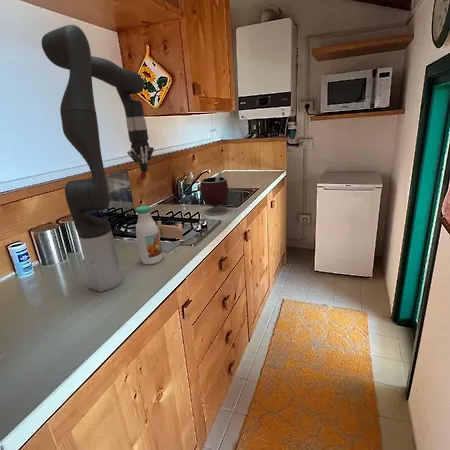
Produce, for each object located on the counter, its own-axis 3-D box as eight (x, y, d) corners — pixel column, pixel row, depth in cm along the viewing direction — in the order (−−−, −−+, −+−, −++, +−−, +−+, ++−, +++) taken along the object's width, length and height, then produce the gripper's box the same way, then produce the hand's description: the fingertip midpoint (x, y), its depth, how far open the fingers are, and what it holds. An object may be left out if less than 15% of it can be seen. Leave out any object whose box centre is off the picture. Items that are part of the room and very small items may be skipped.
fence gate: (162, 236, 127) (160, 222, 125) (164, 235, 129) (162, 221, 127) (182, 239, 123) (180, 225, 121) (184, 238, 124) (182, 223, 122)
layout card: (167, 252, 114) (167, 251, 113) (137, 246, 122) (137, 245, 122) (201, 232, 131) (201, 231, 131) (173, 227, 139) (173, 226, 139)
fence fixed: (143, 247, 120) (140, 230, 117) (140, 246, 120) (137, 230, 118) (164, 236, 129) (161, 220, 127) (161, 235, 130) (159, 220, 127)
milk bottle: (141, 266, 104) (130, 212, 97) (141, 257, 111) (131, 205, 104) (163, 262, 106) (154, 208, 99) (162, 253, 113) (153, 202, 106)
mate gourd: (221, 217, 147) (217, 177, 140) (197, 215, 154) (193, 176, 147) (235, 208, 160) (233, 170, 153) (213, 206, 166) (210, 170, 159)
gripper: (142, 128, 128) (149, 168, 134) (117, 130, 117) (126, 174, 123) (155, 127, 124) (162, 169, 130) (131, 130, 114) (139, 175, 120)
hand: (144, 172), depth 127 cm, fingers closed
